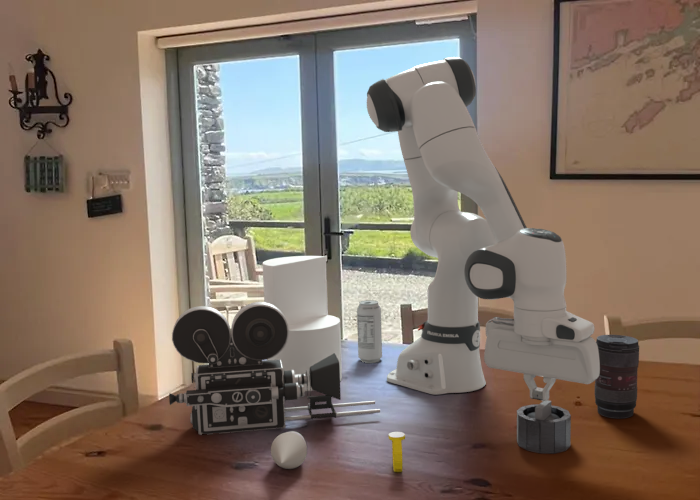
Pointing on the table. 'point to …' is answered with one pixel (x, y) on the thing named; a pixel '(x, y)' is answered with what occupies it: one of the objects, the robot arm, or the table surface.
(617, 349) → the camera lens
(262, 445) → the table surface
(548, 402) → the grey dial knob
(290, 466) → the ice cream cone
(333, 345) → the cylinder
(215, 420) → the film camera
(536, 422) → the faceted grey ring
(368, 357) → the energy drink can
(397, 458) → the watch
